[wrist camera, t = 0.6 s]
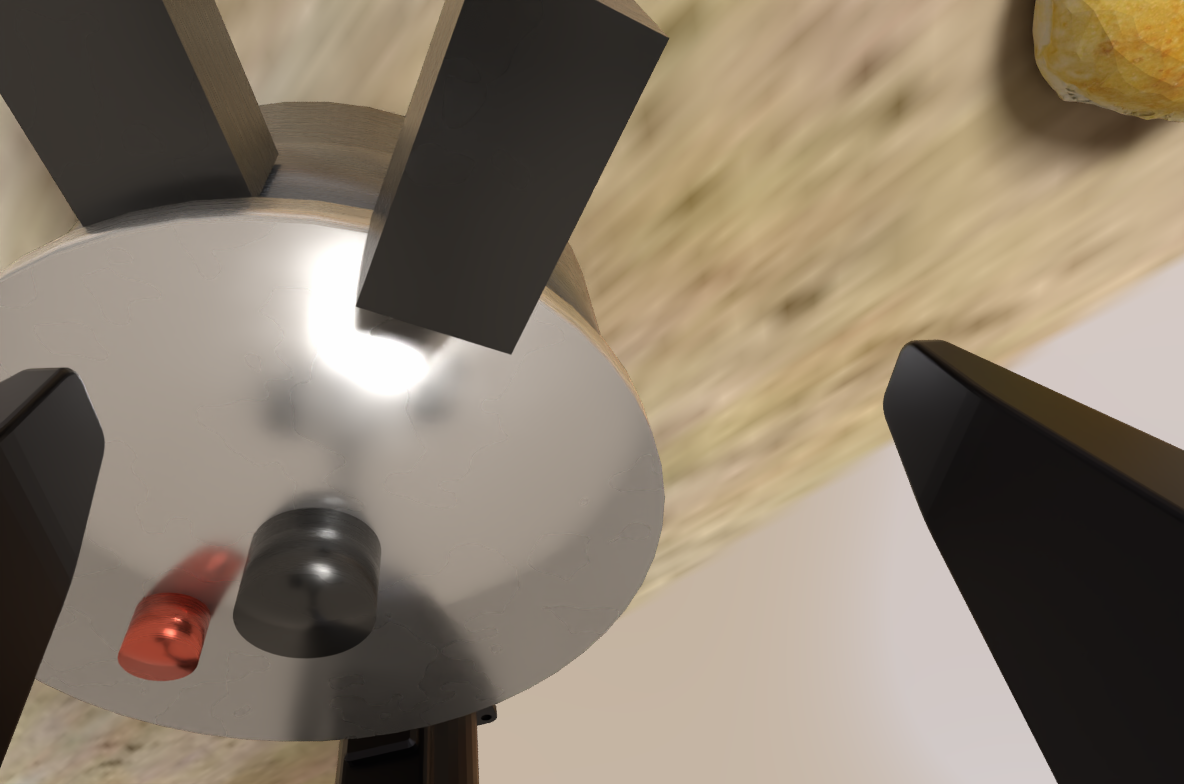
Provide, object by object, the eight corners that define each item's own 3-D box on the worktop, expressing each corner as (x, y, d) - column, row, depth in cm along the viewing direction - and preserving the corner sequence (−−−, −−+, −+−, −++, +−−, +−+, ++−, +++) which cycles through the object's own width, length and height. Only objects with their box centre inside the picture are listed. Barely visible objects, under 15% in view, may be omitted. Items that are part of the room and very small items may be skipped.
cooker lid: (507, 733, 25) (515, 848, 22) (-93, 668, 19) (-183, 814, 16) (928, 150, 15) (1039, 231, 12) (-95, -399, 9) (-344, -490, 6)
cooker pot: (620, 471, 28) (660, 624, 23) (218, 559, 28) (167, 734, 23) (504, -176, 16) (533, -162, 11) (-206, -37, 16) (-523, 44, 11)
